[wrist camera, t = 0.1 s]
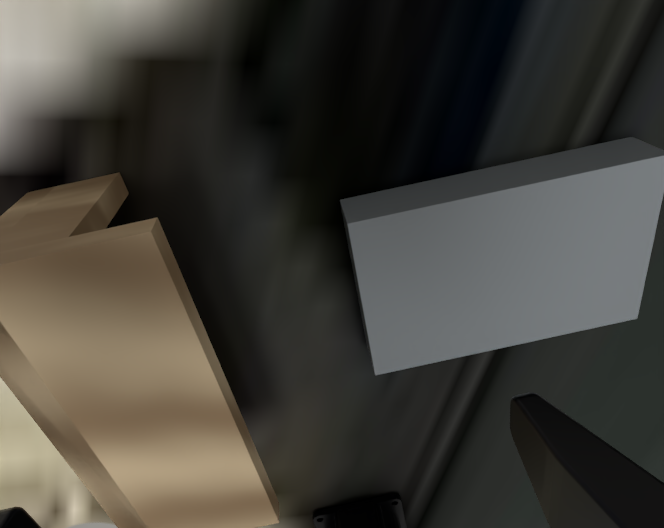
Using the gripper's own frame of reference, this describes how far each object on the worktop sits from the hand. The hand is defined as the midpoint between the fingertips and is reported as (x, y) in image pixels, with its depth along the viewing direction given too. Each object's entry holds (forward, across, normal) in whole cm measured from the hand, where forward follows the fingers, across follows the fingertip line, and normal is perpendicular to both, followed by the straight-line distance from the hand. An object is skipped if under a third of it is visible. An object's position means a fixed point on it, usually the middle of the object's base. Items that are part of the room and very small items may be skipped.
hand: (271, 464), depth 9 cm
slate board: (+15, -10, +6) cm, 19 cm away
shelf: (+15, +6, +6) cm, 17 cm away
